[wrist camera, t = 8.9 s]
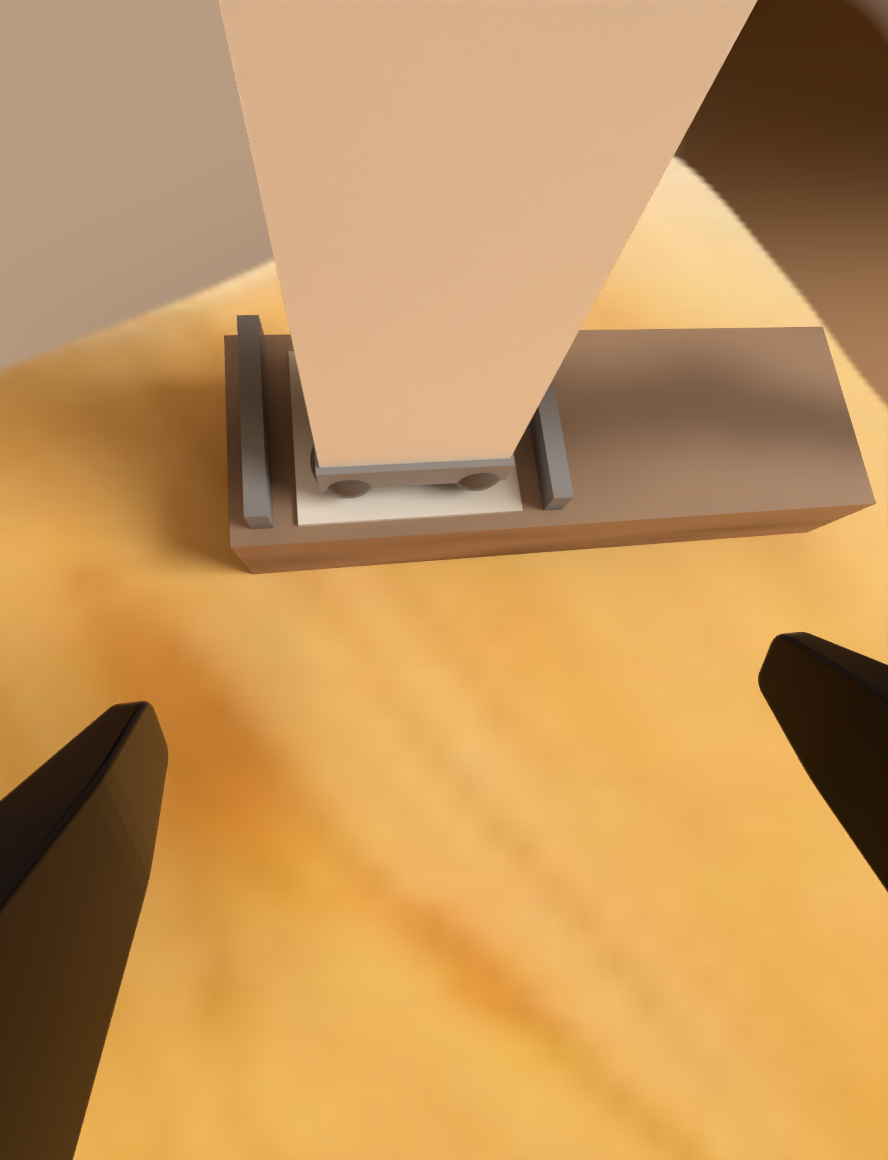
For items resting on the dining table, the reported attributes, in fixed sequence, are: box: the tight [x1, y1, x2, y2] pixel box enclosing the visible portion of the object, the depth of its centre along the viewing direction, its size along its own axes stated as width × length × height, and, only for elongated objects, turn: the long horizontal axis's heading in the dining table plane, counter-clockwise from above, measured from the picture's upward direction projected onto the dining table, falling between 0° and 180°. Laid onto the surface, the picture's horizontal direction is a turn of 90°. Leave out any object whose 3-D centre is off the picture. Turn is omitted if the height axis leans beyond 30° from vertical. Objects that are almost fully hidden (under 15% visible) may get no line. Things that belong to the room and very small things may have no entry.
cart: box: [219, 0, 757, 499], centre depth 11 cm, size 5×6×12 cm
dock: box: [224, 315, 876, 574], centre depth 19 cm, size 7×21×4 cm, turn 97°
